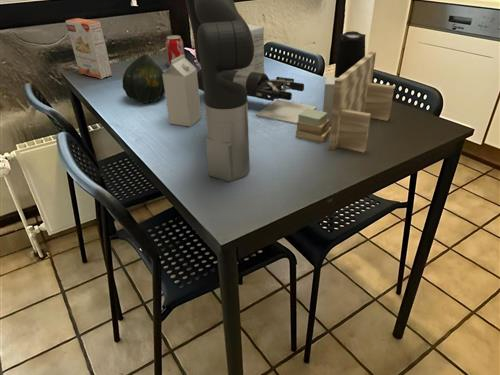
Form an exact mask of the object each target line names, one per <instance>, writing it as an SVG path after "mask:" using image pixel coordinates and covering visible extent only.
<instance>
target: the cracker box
mask: <svg viewBox="0 0 500 375" xmlns="http://www.w3.org/2000/svg"><path fill="white" fill-rule="evenodd" d="M65 24H66V28H67V32H68V35H69V39H70V43H71V47H72V49H73V50H72V51H73V53H74V57H75V58H74V59H75V61H76V66H77V69H78V72H79V74H80V73H82V74H86V75H89V76H93V77H97V78H104V77H106V76H109V75H112V76H113V72H112V69H111V63H110V59H109V55H108V50H107V44H106V41H105V37H104V32H103V27H102V23H101V21H98V20H91V19H85V18H79V17H77V18H71V19H66V20H65ZM82 74H81V75H82ZM89 76H88V77H89ZM93 77H92V78H93ZM97 78H96V79H97Z"/></svg>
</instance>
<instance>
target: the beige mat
mask: <svg viewBox="0 0 500 375" xmlns="http://www.w3.org/2000/svg"><path fill="white" fill-rule="evenodd" d="M307 108H308V109H313V110H316V109H318V107H317V106H315V105H309V104H303V103H299V102H292V101H289V100H284V99H275V100H274V101H272V103H270V104H269V105H267V106H266V107H264V108H263V109H262V110H260V111H258V113H256V114H255V116H256V117H259V118H264V119H269V120H273V121H278V122H284V123H289V124H293V125H297V122H298V115H299V114H300V113H302V112H303V111H304V110H306V109H307Z"/></svg>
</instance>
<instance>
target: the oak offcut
mask: <svg viewBox="0 0 500 375" xmlns="http://www.w3.org/2000/svg"><path fill="white" fill-rule="evenodd" d="M330 125H331V124H330V120H328V119H327V120H326V121H325V122H324V123H322V124H321V125H320V126H319V127H318V126H314V125H310V124H306V123H302V122H297V124H296V130H297V131H301V132H305V133H309V134H313V135H318V136H321V135H323V134H324V133H325V132H326V131H327V130H328V129H329V128H330Z"/></svg>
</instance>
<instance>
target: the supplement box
mask: <svg viewBox="0 0 500 375" xmlns="http://www.w3.org/2000/svg"><path fill="white" fill-rule="evenodd" d="M246 24H247V23H246ZM247 25H248V27H249V29H250V32H251V35H252V38H253V43H254V57H253V60H252V62H251V64H250V65H249V66H248V67H246V68H243V69H238V71H251V72H257V73H264V74H265V51H264V50H265V41H264V40H265V32H264V31H265V29H264V28H265V27H264V26H261V25H254V24H247Z"/></svg>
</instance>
